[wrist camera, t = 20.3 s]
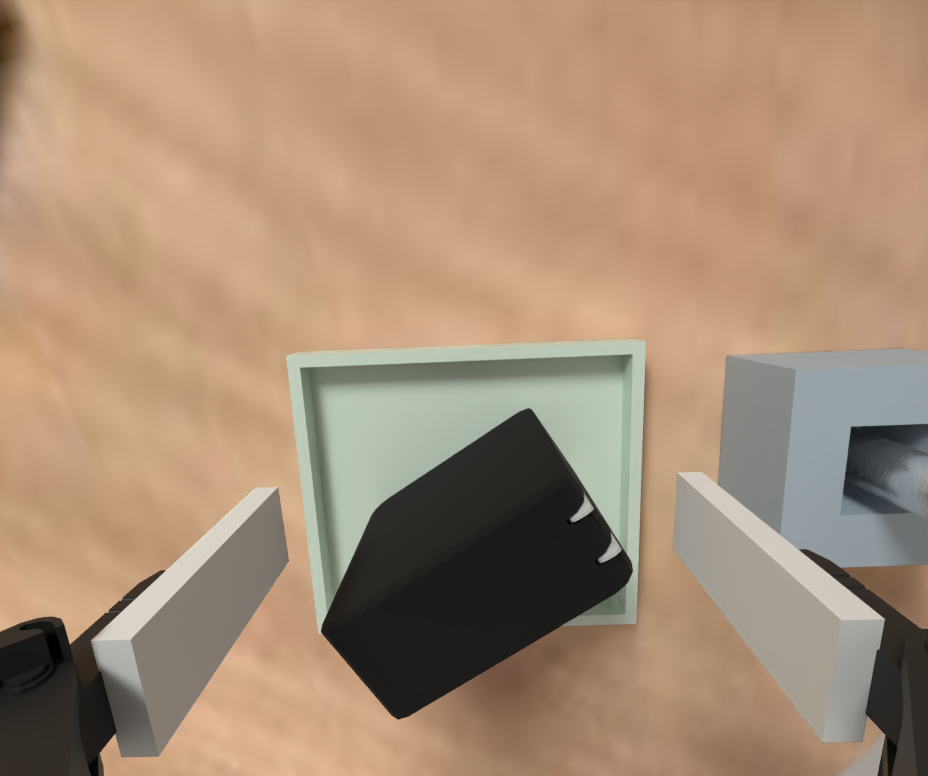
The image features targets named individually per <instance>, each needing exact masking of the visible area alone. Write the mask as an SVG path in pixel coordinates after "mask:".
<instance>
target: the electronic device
mask: <svg viewBox="0 0 928 776" xmlns="http://www.w3.org/2000/svg"><path fill="white" fill-rule="evenodd" d="M632 573H633V567H632V562H631V560H630V558H629V557H628V555H627V554H626V552H625V550H624V549H623V547H622V546H621V544H620V542H619V541H618V539H617V538H616V536H615V535H614V533H613V531H612V530H611V528H610V527H609V525H608V524H607V522H606V520H605V519H604V517H603V516H602V514H601V512H600V511H599V509H598V508H597V506H596V505H595V503H594V501H593V500H592V498H591V497H590V495H589V494H588V492H587V490H586V489H585V487H584V486H583V484H582V482H581V481H580V479H579V478H578V476H577V475H576V473H575V471H574V470H573V468H572V467H571V466H570V464H569V463H568V461H567V460H566V458H565V457H564V455H563V454H562V452H561V451H560V450H559V448H558V447H557V445H556V444H555V442H554V441H553V439H552V438H551V436H550V435H549V433H548V432H547V431H546V429H545V428H544V426H543V425H542V423H541V422H540V420H539V419H538V417H537V416H536V414H535V413H534V412H533V410H532V409H530V408H527V409H524V410H522V411H520V412H518V413H516V414H515V415H513V416H511V417H510V418H508V419H507V420H505V421H504V422H502V423H501V424H499V425H498V426H496V427H495V428H493V429H492V430H490V431H489V432H487V433H486V434H484V435H483V436H481V437H480V438H478V439H477V440H475V441H474V442H472V443H471V444H469V445H468V446H466V447H465V448H463V449H462V450H460V451H459V452H457V453H456V454H454V455H453V456H451V457H450V458H448V459H447V460H445V461H444V462H442V463H441V464H439V465H438V466H436V467H435V468H433V469H432V470H430V471H429V472H427V473H426V474H424V475H422V476H421V477H419V478H418V479H416V480H415V481H413V482H412V483H410V484H409V485H407V486H406V487H404V488H403V489H401V490H400V491H398V492H397V493H395V494H394V495H392V496H391V497H389V498H388V499H387V500H385V501H384V502H383V503H381V504H380V505H379V506H378V507H377V508H376V509H375V511H374V512H373V513H372V515H371V517H370V519H369V521H368V524H367V526H366V528H365V530H364V533H363V535H362V537H361V539H360V541H359V544H358V546H357V548H356V550H355V553H354V555H353V557H352V559H351V561H350V564H349V566H348V568H347V570H346V573H345V575H344V577H343V579H342V581H341V584H340V586H339V588H338V590H337V592H336V595H335V597H334V599H333V601H332V604H331V606H330V608H329V610H328V612H327V615H326V617H325V619H324V621H323V624H322V628H321V633H322V634H323V635H324V636H325V638H326V639H327V640H328V641H329V642H330V644H331V645H332V646H333V647H334V648H335V649H336V651H337V652H338V653H339V654H340V655H341V656H342V658H343V659H344V660H345V661H346V662H347V664H348V665H349V666H350V667H351V668H352V669H353V671H354V672H355V673H356V674H357V675H358V676H359V678H360V679H361V680H362V681H363V682H364V683H365V685H366V686H367V687H368V688H369V689H370V691H371V692H372V693H373V694H374V695H375V696H376V698H377V699H378V700H379V701H380V702H381V703H382V705H383V706H384V707H385V708H386V709H387V710H388V712H389V713H390V714H391V715H392V716H393V717H395V718H396V719H401V718H405V717H408V716H410V715H412V714H413V713H415V712H417V711H418V710H420V709H422V708H423V707H425V706H427V705H429V704H430V703H432V702H434V701H435V700H437V699H439V698H440V697H442V696H444V695H445V694H447V693H449V692H450V691H452V690H454V689H456V688H457V687H459V686H461V685H462V684H464V683H466V682H467V681H469V680H471V679H472V678H474V677H476V676H478V675H479V674H481V673H483V672H484V671H486V670H488V669H489V668H491V667H493V666H494V665H496V664H498V663H500V662H501V661H503V660H505V659H506V658H508V657H510V656H511V655H513V654H515V653H516V652H518V651H520V650H522V649H523V648H525V647H527V646H528V645H530V644H532V643H533V642H535V641H537V640H538V639H540V638H542V637H543V636H545V635H547V634H549V633H550V632H552V631H554V630H555V629H557V628H559V627H560V626H562V625H564V624H565V623H567V622H569V621H571V620H572V619H574V618H576V617H577V616H579V615H581V614H582V613H584V612H586V611H587V610H589V609H591V608H593V607H594V606H596V605H598V604H599V603H601V602H603V601H604V600H606V599H608V598H609V597H611V596H613V595H615V594H616V593H617V592H619V591H620V590H621V589H622V588H623V587H624V586H625V585H626V584H628V582H629V580H630V577H631V575H632Z"/></svg>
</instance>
